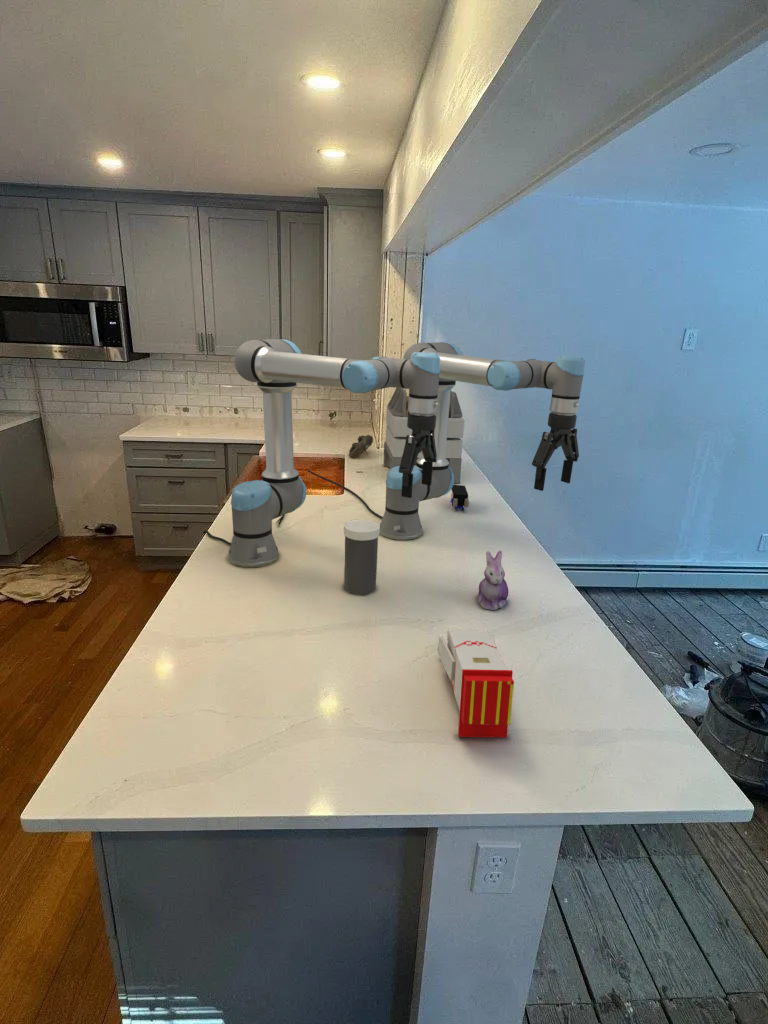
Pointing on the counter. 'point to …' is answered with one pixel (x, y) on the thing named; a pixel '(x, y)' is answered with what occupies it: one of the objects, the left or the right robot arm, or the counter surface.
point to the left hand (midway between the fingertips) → (416, 490)
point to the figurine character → (459, 497)
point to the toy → (478, 682)
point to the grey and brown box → (399, 431)
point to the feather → (280, 520)
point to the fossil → (360, 446)
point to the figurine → (493, 584)
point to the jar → (360, 566)
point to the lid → (361, 529)
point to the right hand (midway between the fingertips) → (552, 485)
